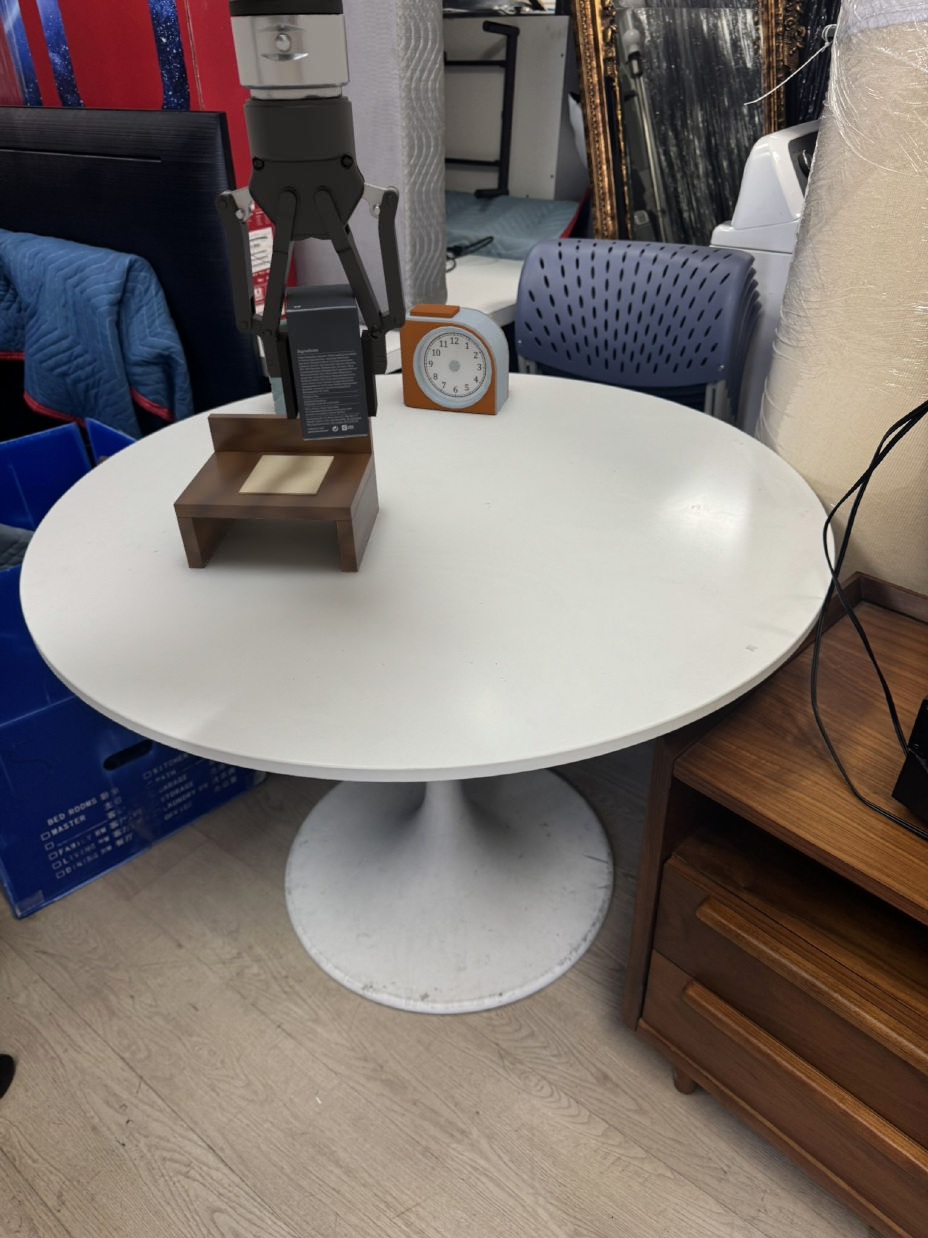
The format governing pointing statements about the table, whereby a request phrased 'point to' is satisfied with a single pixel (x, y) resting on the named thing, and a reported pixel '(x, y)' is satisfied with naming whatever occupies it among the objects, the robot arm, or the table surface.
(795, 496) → the table surface
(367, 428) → the box
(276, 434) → the shelf
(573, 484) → the table surface
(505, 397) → the alarm clock
